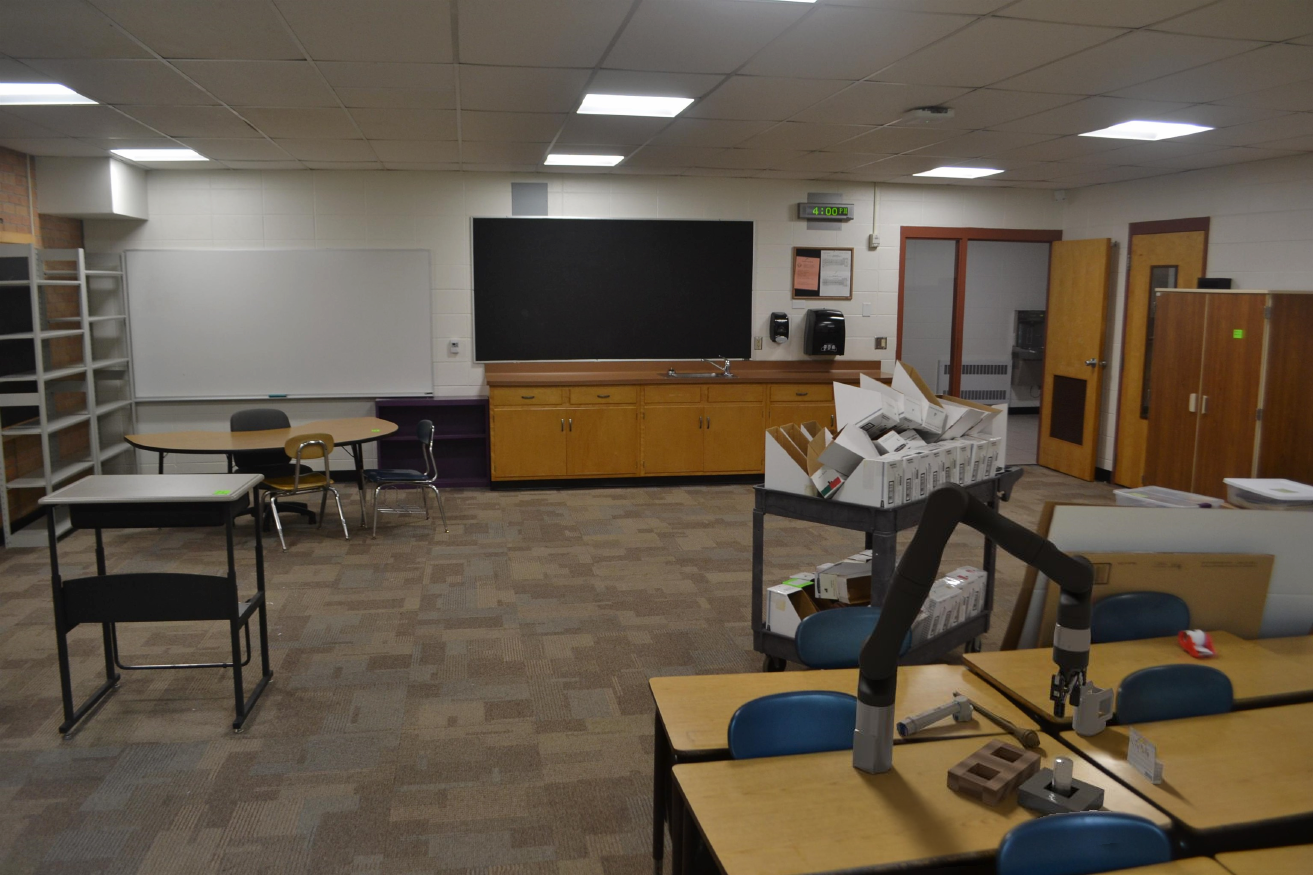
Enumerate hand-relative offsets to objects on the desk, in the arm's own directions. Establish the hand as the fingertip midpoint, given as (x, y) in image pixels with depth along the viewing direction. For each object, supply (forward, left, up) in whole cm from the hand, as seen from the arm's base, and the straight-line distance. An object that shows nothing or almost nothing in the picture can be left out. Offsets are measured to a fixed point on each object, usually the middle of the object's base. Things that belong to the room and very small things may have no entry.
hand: (1066, 711), depth 211 cm
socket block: (-1, -1, -23) cm, 23 cm away
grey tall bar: (-1, -1, -23) cm, 23 cm away
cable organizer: (+43, +9, -23) cm, 50 cm away
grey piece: (+14, +40, -23) cm, 48 cm away
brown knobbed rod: (+28, +30, -23) cm, 47 cm away
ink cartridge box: (+29, -9, -23) cm, 38 cm away
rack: (-1, +15, -23) cm, 27 cm away
